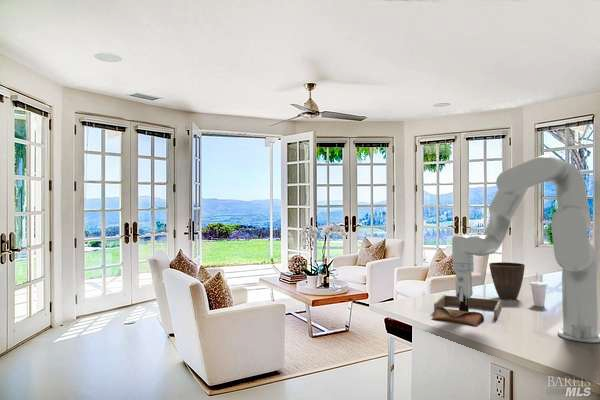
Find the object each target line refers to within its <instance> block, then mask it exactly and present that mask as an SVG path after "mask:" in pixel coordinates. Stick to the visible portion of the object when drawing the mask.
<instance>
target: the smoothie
mask: <svg viewBox="0 0 600 400" xmlns="http://www.w3.org/2000/svg"><path fill="white" fill-rule="evenodd" d="M535 278H536V281H531V282H530V286H531V292H532V299H533V306H534V307H545V303H546V302H545V301H546V295H547V294H546V293H547V287H548V283H547V282H543V281H542V282H540V281H539V273H538V272H536V275H535Z"/></svg>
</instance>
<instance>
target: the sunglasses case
mask: <svg viewBox="0 0 600 400" xmlns="http://www.w3.org/2000/svg"><path fill="white" fill-rule="evenodd" d="M430 321H439V322H444V323H445V322H446V323H452V324H457V325H458V324H460V325H465V326H472V327H479V326H480V325H482V324H483V323H485V318H484V314H482V313H480V312H477V311H469V312H467V311H461V310H459V309H452V308H445V307H443V308H442V307H437V308H436V311H435V313H434V312H433V315H432V318H431V319H430Z"/></svg>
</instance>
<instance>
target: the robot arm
mask: <svg viewBox="0 0 600 400" xmlns="http://www.w3.org/2000/svg"><path fill="white" fill-rule="evenodd" d="M543 183H550V184H553V185H554V187H555V196H556V197H555V198H556V206H557V210H556V211H555V212H554V213H553V215H552V217H551V223H550V224H551V225H550V227H551V234H552V235H551V236H552V244H553V253H554V259H555V261H556V263H557V265H559V266H560V267H561V268H562V271H561V293H562V295H561V298H562V328H560V329H558V330H557V335H558V336H560V337H562V338H563V339H565V340H571V341H574V342H581V343H590V344H591V343H595V344H596V343H600V332H599V322H598V321H599V317H598V316H599V314H598V313H599V312H598V311H599V310H598V309H599V308H598V262H599V261H598V253H597V249H596V248H595V246H594V245H593V244H592V243H590V241H589V232H588V230H589V229H590V227H591V225H592V219H591V215H590V207H589V201H588V196H587V195H588V194H587V188H586V182H585V178H584V176H583V174H582V171H581V170H579V168H577V166H575V165H574V164H572V163H570V162H568V161H566V160H562V159H559V158H556V157H553V156H549V155H540V156H537V157H534V158H532V159H530V160H527V161H524V162H522V163H520V164H518V165H514V166H512V167H509V168H507V169H505V170H503V171H502V172H500V174H499V175H498V176H497V177H496V182H495V184H496V187H497V191H496V192H495V195H494V197H493V199H492V200H491V202H490V204H489V207H488V211H489V215H490V216H489V222H488V224H487V227H486V229H485V230H484V232H483V234H482V235H476V236H475V235H473V236H471V235H468V234H467V235H465V234H457V235H454V236H453V237H452V238H451V241H452V242H451V245H452V246H451V248H452V271H453V272H455V296H456V297H459V306H458V310H461V311H467V312H470V311H469V307H468V305H467V304H468V299H469V298H472V296H473V294H474V292H473V291H474V290H473V278H472V272H473V273H474V256H477V257H484V256H489V255H492V254H494V253H496V252H497V251H498V250H499V249H500V247H501V245H502V243H503V242H504V240H505V238H506V236H507V234H508V232H509V229H510V226H511V223H512V219H513V216H514V215H515V213H516V212H517V209H518V207H519V206H520V204H521V202H522V200H523V199H524V196H525V194H526V193H527V190H528V188H532V187H534V186H537V185H540V184H543Z"/></svg>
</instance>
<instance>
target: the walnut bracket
mask: <svg viewBox="0 0 600 400" xmlns="http://www.w3.org/2000/svg"><path fill="white" fill-rule="evenodd" d="M467 305H468V308H473V309H483V310H493V320H494V321H495V322H496V321H498V319H499V317H500V314H501V313H502V312H501V311H502V299H491V298H479V297H470V298H469V299H468V304H467ZM446 306H452V307H459V297H456V295H448V294H447V295H446V294H443V295H442V296H441V297H440V298H439V299H438V300H436V301H435V302H434V303H433V314H434V313H435V311H436V308H437V307H442V308H445V307H446Z"/></svg>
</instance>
